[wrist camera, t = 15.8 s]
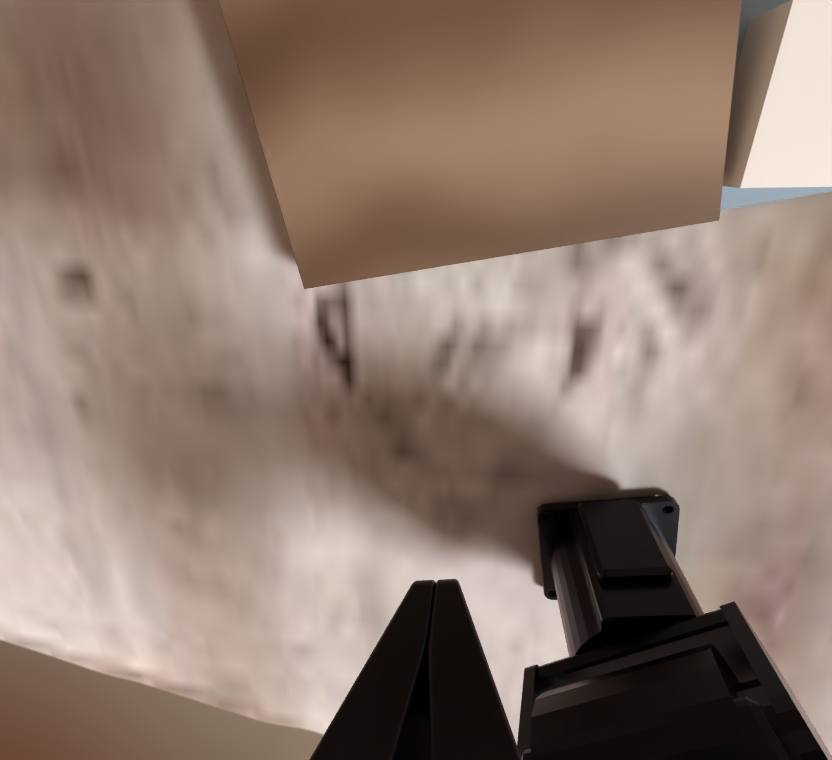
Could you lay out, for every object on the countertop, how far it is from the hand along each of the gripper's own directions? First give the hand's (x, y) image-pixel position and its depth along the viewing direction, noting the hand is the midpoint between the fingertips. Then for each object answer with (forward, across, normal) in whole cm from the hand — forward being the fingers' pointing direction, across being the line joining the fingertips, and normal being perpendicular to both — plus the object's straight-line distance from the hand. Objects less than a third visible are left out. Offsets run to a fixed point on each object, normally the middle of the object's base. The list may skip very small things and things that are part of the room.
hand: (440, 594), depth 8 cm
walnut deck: (+12, -2, -10) cm, 16 cm away
